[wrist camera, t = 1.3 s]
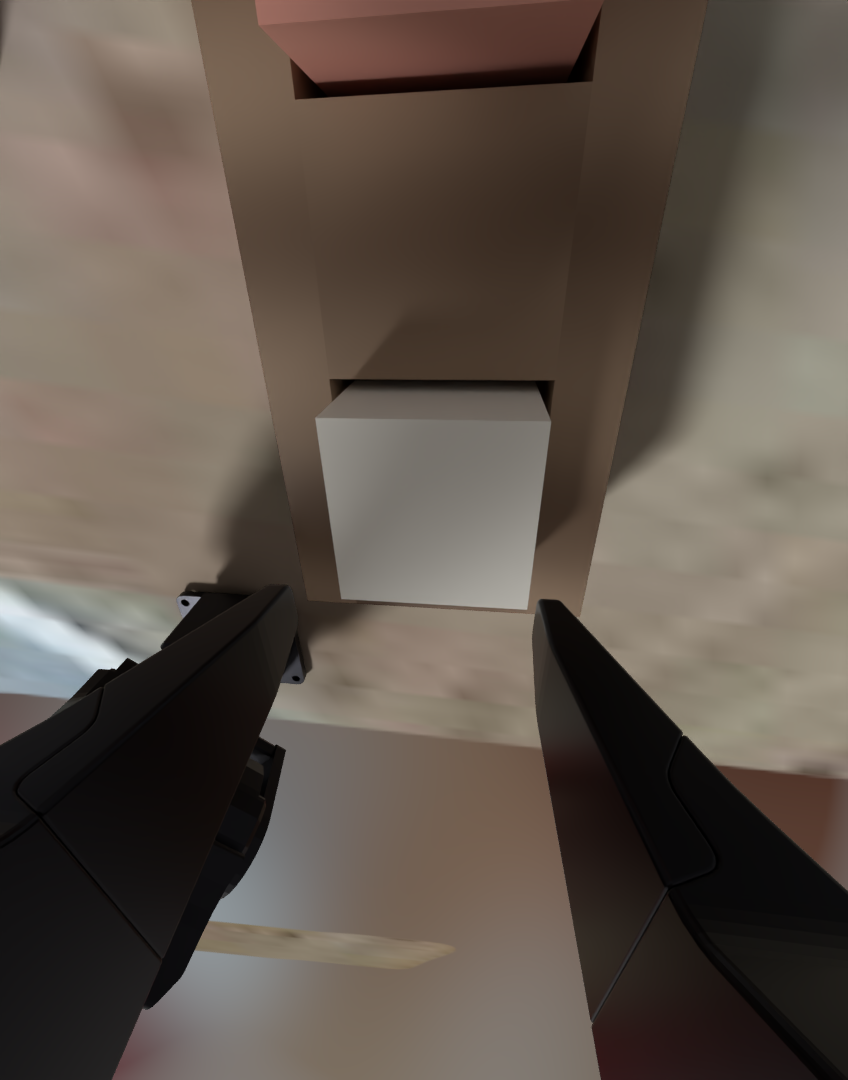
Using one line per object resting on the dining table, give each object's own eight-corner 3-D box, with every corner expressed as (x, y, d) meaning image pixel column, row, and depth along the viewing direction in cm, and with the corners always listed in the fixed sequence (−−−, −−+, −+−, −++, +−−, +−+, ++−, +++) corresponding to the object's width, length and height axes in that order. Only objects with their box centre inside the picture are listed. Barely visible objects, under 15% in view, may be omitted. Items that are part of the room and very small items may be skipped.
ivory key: (518, 538, 17) (527, 610, 13) (369, 531, 17) (341, 598, 14) (534, 381, 14) (551, 421, 10) (355, 379, 14) (314, 417, 11)
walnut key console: (557, 531, 21) (579, 616, 16) (347, 522, 22) (307, 600, 17) (693, -353, 10) (917, -1003, 5) (250, -285, 11) (45, -756, 6)
